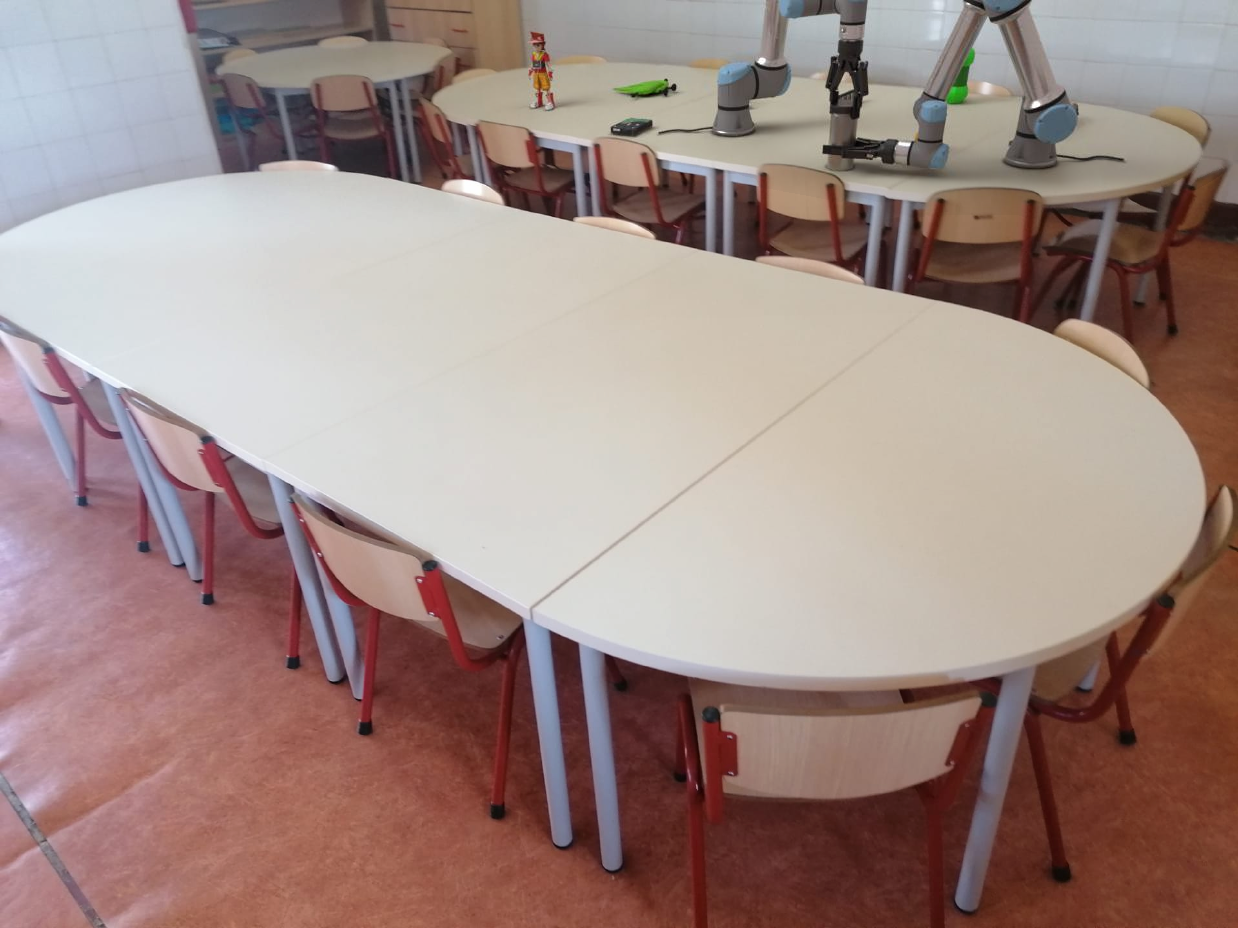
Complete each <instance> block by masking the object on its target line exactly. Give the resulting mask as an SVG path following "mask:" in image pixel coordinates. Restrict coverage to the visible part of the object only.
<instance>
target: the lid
mask: <svg viewBox="0 0 1238 928" xmlns="http://www.w3.org/2000/svg"><path fill="white" fill-rule="evenodd" d="M852 108H853V100H836V101H833V102H831V105H830V104H829V112H830V111H831V112H832V113H836V114H852Z"/></svg>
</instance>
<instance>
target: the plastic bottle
mask: <svg viewBox="0 0 1238 928" xmlns="http://www.w3.org/2000/svg"><path fill="white" fill-rule="evenodd" d="M975 57H976V51H975V49H974V47H972V49H971V51H970V53H969V55H968V57H967V59H966V60H965V62H964V64H963V66H962V68H961V70H960V72H959V74H958V76H957V78H956V80H955V82H954V84H953V86H952V88H951V90H950V92H949V94H948V96H947V98H946V101H945V102H946V103H948V104H960V103H961V102H963V101H964V100H966V98H967V96H968V95H969V85H968V79H969V73H970V67H971V65H972V64H973V63H974V61H975Z"/></svg>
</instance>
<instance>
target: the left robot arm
mask: <svg viewBox="0 0 1238 928" xmlns="http://www.w3.org/2000/svg"><path fill="white" fill-rule="evenodd" d="M868 1H869V0H766V2H765V7H764V9H765V10H764V16H763V24H762V31H761V41H760V49H759V54H757V55H756V56H755V57H754V63H753V65H751V63H750V62H749V61H734V62H730V63H727V64H724V65H723V66H721V67H720V68H719V70H718V75H717V82H716V83H717V111H716V114H715V118H714V120H713V124H712V126H705V127H698V128H693V129H692V128H691V129H685V128H674V129H673V128H672V129H666V130H662V131H658V135H661V134H662V135H663V134H666V133H672V132H683V133H684V132H685V133H686V132H687V133H692V132H699V131H705V130H711V129H712V133H713V134H715V135H717V136H721V137H741V136H746V135H750V134H752V133H754V127H755V123H754V121H753V118H752V115H751V111H750V107H749V104H750V101H754V100H761V99H768V98H769V99H770V98H776V97H780V96H783V95H784V94H786V93H787V92H788V90H789V88H790V85H791V81H792V73H791V72H792V69H791V65H790V64H789V63H788V59H787V58H786V56H785V49H786V42H787V41H786V40H787V35H788V27H789V21H790V19H792V20H796V19H800V18H807V17H815V16H824V15H825V16H826V15H832V14H835V15H839V16H840V17H839V30H838V38H839V40H838V41H837V54H838V55H833V56H832V55H831V56H830V65H829V68H828V73H827V78H826V81H825V84H824V85H825V86H824V87H825V89H826V90H827V89H828V91H829V98H828V100H829V106H830V105H831V102H833V101H836V100H838V97H839V95H840V89H839V86H840V84H841V82H842V80H843V78H844V76H845V73H848V75H849V77H851V83H852V87H853V89H854V91H855V95H856V96H855V97H854V98H853V108H852V118H851V119H852V120H854V119H858V120H859V119H860V116H861V109H862V107H863V101H864V100H863V98H864V97H866V96H868V95H869V94H870V93H869V76H868V67H869V61H868V60H862V57H861V55H862V53H863V51H864V42H865V41H864V37H865V31H866V30H865V29H866V21H867V20H866V19H867V10H868V4H869V3H868ZM831 113H832V112H831V111H830V110H829V115H831Z"/></svg>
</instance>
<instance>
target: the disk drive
mask: <svg viewBox="0 0 1238 928" xmlns="http://www.w3.org/2000/svg"><path fill="white" fill-rule="evenodd" d="M651 128H653V119H647V118H637V117H636V118H635V117H629V118H627V119H624V120H621V121H619V122H618V123H615V124H613V125H612V126H610V134H613V135H614V134H615V135H620V136H636V135H638V134H640V133H642V132H644V131H646V130H649V129H651Z"/></svg>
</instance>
